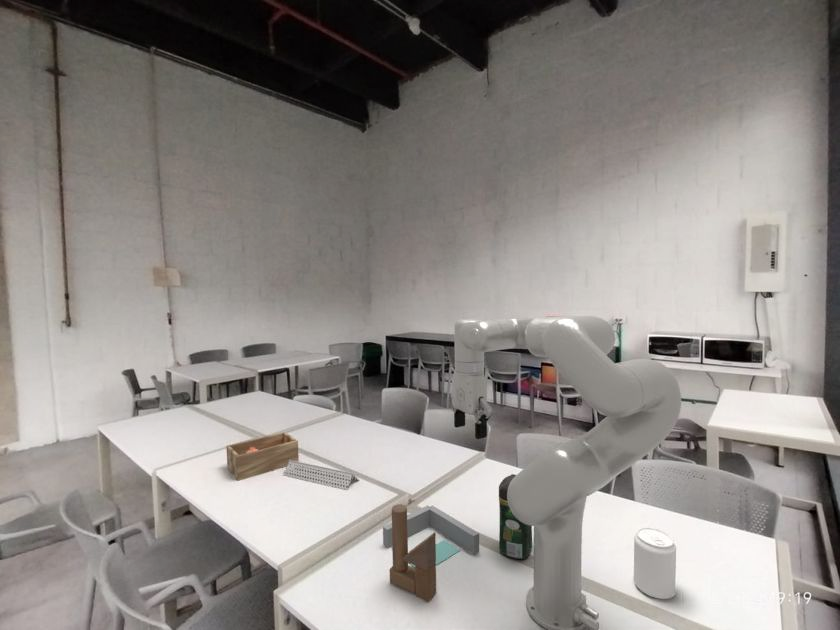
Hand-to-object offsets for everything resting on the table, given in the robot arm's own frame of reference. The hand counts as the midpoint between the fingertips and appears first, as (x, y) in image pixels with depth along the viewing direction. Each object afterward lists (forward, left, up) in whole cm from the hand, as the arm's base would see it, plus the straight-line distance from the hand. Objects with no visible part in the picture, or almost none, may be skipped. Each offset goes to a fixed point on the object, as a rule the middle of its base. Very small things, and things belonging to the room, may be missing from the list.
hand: (470, 431), depth 104 cm
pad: (+4, +10, -31) cm, 33 cm away
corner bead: (+64, +12, -32) cm, 72 cm away
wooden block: (-1, +21, -31) cm, 38 cm away
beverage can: (-37, -20, -31) cm, 53 cm away
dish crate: (+89, +24, -31) cm, 97 cm away
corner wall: (+7, +9, -31) cm, 33 cm away
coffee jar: (-8, -8, -31) cm, 33 cm away
